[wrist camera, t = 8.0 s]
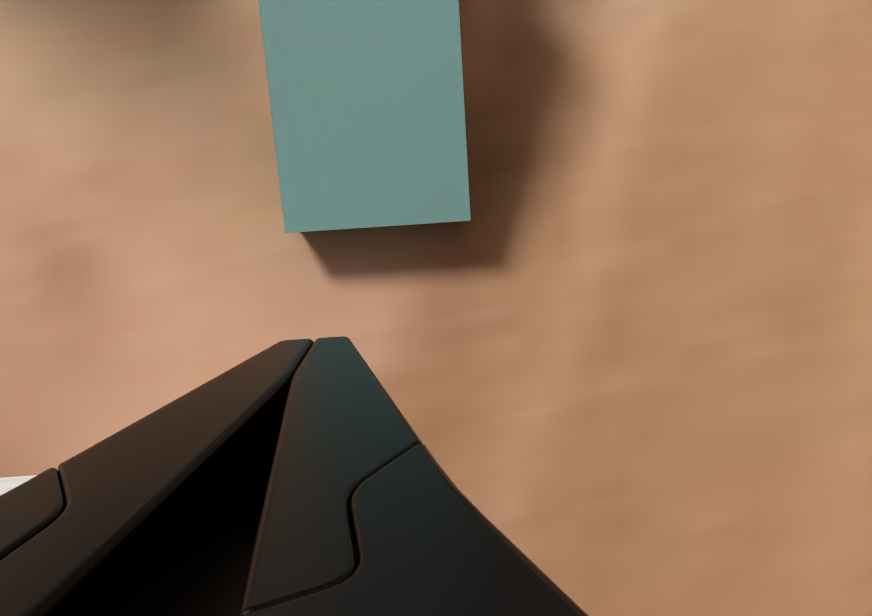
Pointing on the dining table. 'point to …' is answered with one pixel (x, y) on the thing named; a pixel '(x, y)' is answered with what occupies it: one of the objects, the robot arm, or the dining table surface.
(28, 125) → the dining table surface
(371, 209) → the domino
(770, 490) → the dining table surface
